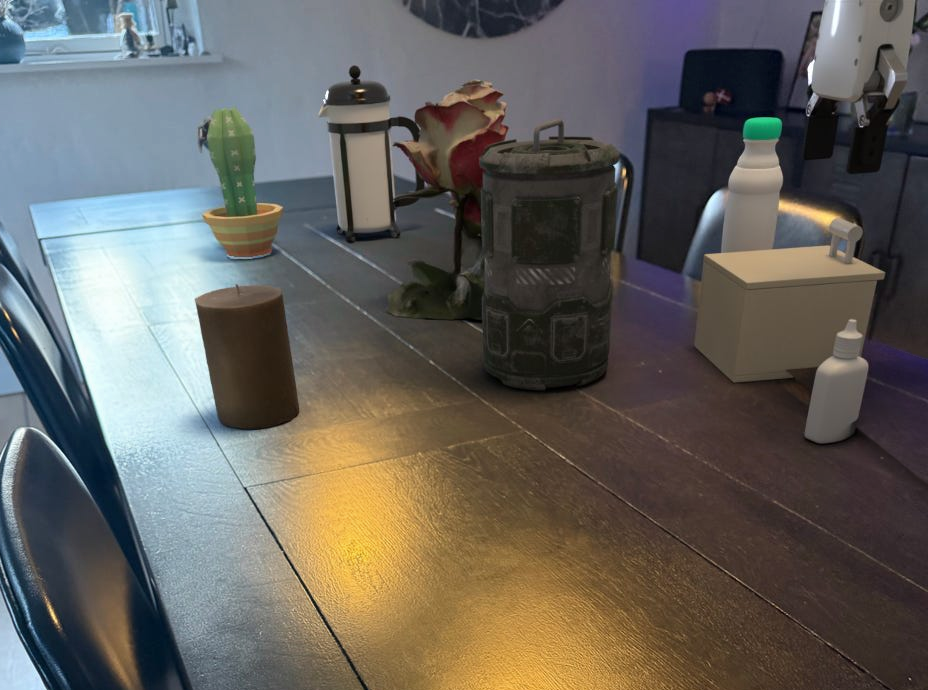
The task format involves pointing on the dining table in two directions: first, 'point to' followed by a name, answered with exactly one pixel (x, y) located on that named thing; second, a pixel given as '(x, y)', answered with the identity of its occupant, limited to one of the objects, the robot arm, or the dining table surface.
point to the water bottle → (754, 190)
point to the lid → (798, 263)
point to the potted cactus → (237, 187)
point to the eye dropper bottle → (838, 390)
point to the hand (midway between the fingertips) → (838, 165)
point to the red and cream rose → (456, 171)
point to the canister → (548, 258)
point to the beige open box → (775, 324)
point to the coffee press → (364, 156)
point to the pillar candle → (248, 355)
